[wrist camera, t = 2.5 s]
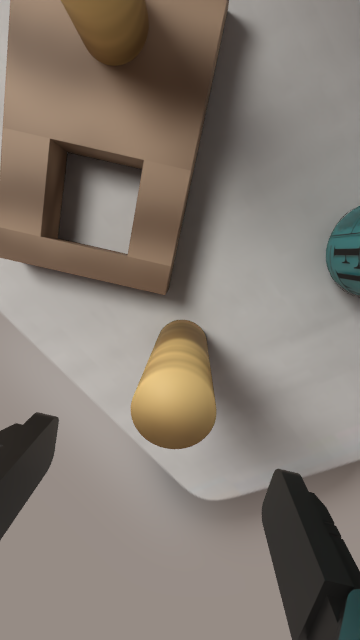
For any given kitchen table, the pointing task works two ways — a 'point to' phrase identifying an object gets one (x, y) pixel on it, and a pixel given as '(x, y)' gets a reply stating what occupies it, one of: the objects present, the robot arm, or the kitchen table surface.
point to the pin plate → (104, 123)
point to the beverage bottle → (345, 252)
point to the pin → (176, 389)
